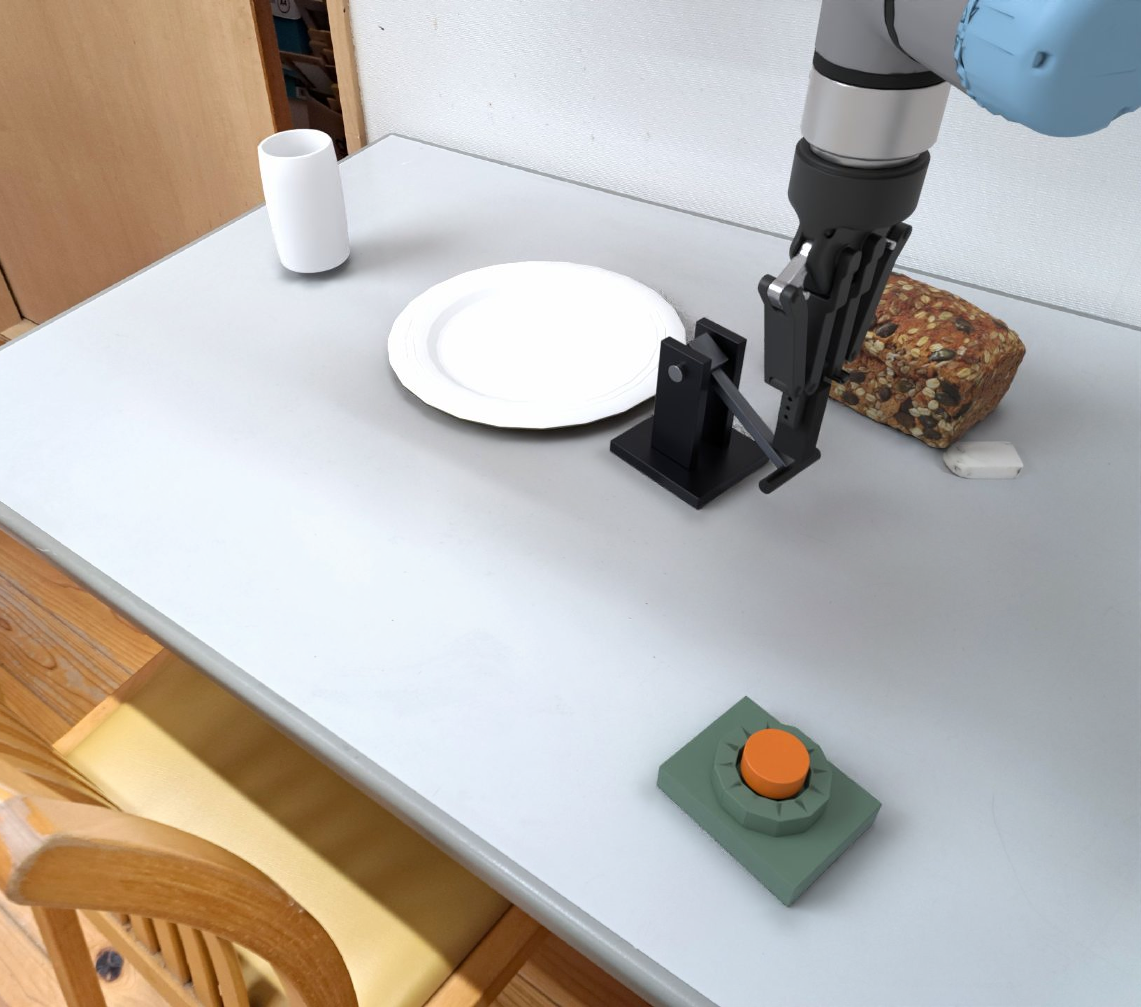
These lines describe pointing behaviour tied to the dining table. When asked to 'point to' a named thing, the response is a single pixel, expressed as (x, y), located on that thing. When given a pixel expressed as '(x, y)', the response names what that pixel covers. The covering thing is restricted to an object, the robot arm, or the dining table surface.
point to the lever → (749, 418)
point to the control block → (767, 804)
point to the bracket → (692, 424)
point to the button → (774, 763)
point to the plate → (533, 344)
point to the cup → (304, 199)
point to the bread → (930, 363)
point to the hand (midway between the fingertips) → (792, 450)
